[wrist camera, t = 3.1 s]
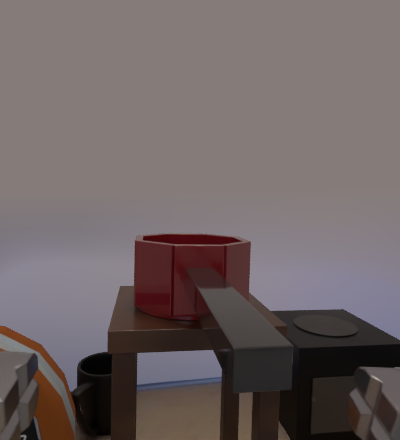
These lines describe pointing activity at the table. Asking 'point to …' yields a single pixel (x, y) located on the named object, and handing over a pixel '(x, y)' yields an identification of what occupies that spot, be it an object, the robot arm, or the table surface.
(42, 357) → the alarm clock
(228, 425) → the plant stand
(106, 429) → the mug
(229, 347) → the saucepan
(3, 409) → the robot arm
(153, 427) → the table surface
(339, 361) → the stove
